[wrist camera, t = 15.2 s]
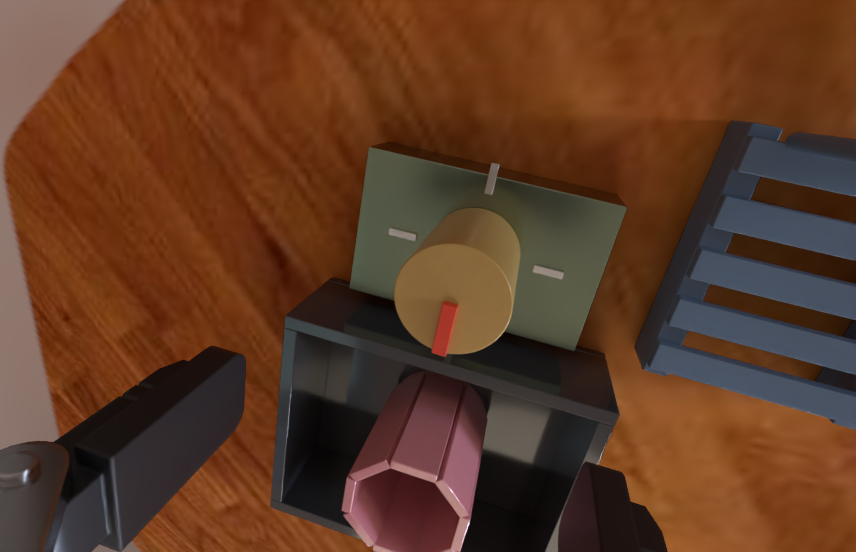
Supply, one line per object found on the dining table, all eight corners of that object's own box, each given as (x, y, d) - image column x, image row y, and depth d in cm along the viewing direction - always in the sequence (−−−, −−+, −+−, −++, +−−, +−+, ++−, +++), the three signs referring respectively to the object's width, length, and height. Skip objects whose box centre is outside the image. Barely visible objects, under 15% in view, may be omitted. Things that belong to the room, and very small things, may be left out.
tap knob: (439, 197, 22) (401, 231, 16) (531, 220, 21) (527, 263, 15) (421, 281, 23) (382, 339, 18) (507, 304, 23) (494, 373, 17)
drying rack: (730, 119, 21) (854, 131, 12) (982, 170, 19) (1310, 222, 11) (633, 347, 25) (677, 465, 17) (831, 401, 24) (981, 558, 16)
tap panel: (389, 130, 24) (368, 134, 21) (621, 183, 23) (633, 195, 20) (366, 278, 28) (346, 299, 25) (567, 334, 26) (571, 363, 23)
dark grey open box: (331, 276, 28) (284, 315, 23) (604, 352, 26) (620, 414, 21) (311, 444, 33) (269, 507, 28) (537, 520, 31) (536, 603, 26)
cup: (400, 357, 28) (350, 447, 21) (496, 386, 27) (480, 489, 20) (385, 433, 31) (336, 538, 23) (474, 462, 30) (451, 579, 22)
